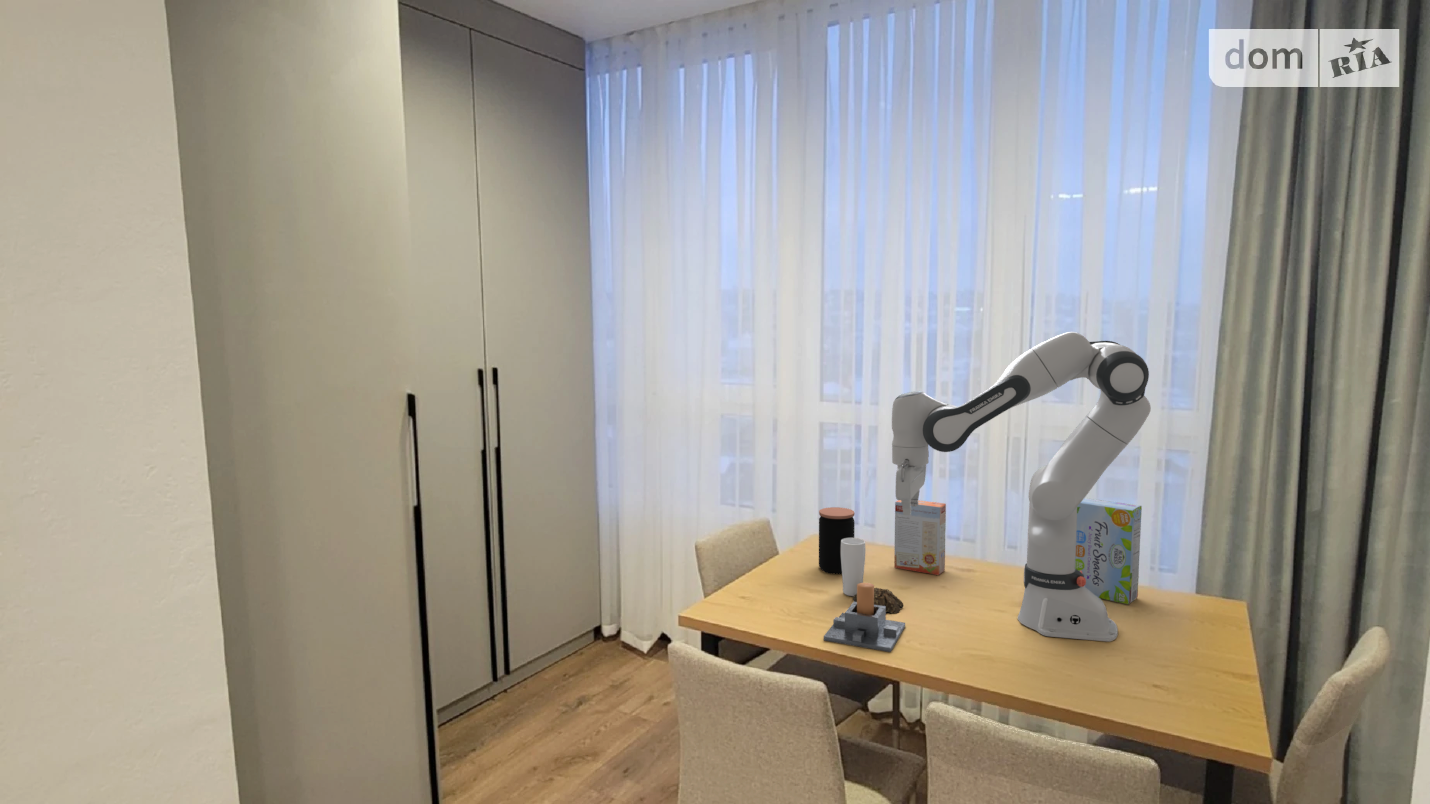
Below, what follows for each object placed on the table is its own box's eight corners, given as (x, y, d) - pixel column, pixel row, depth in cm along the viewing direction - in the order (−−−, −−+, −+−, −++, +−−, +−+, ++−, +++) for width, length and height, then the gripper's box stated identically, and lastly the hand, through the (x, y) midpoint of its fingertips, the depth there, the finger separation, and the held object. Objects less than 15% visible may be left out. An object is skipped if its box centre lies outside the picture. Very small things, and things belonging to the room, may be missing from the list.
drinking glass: (866, 597, 210) (867, 544, 209) (842, 598, 211) (842, 544, 209) (862, 589, 217) (863, 537, 215) (838, 589, 217) (839, 537, 216)
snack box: (1139, 597, 209) (1144, 504, 206) (1129, 606, 202) (1134, 511, 199) (1056, 579, 223) (1060, 492, 221) (1045, 587, 217) (1048, 498, 214)
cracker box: (945, 570, 232) (947, 502, 230) (938, 576, 227) (940, 507, 225) (900, 562, 240) (901, 497, 238) (893, 568, 235) (894, 501, 233)
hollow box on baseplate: (905, 626, 191) (905, 603, 190) (890, 652, 177) (891, 627, 176) (842, 616, 198) (842, 593, 197) (823, 640, 183) (823, 616, 183)
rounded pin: (875, 627, 188) (875, 584, 187) (871, 633, 185) (871, 589, 183) (859, 624, 190) (859, 581, 189) (854, 630, 186) (855, 587, 185)
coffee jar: (859, 567, 236) (860, 509, 234) (845, 577, 227) (846, 517, 225) (827, 561, 242) (827, 505, 240) (812, 571, 233) (813, 513, 231)
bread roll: (848, 600, 210) (848, 582, 209) (889, 595, 213) (890, 578, 212) (868, 617, 198) (868, 599, 197) (912, 612, 201) (912, 594, 200)
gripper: (915, 464, 182) (915, 521, 184) (929, 450, 201) (930, 502, 202) (888, 463, 185) (889, 519, 187) (905, 449, 204) (906, 500, 205)
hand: (910, 510), depth 195 cm, fingers open, 8 cm apart
